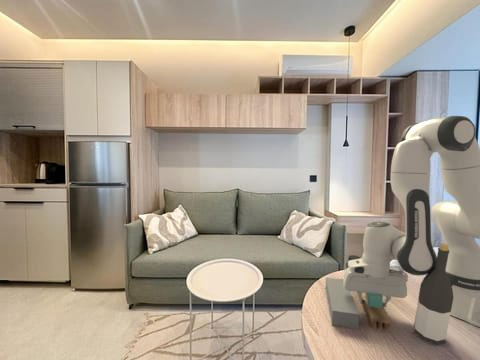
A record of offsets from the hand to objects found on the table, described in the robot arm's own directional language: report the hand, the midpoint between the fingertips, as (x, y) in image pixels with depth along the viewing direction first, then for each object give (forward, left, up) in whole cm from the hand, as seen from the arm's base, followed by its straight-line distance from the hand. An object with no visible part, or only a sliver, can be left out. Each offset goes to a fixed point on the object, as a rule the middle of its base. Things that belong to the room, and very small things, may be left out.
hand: (372, 304), depth 90 cm
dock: (+11, 0, -2) cm, 11 cm away
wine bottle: (-14, +10, -2) cm, 17 cm away
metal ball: (0, -3, +1) cm, 3 cm away
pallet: (0, 0, -3) cm, 3 cm away
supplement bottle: (+2, -20, -3) cm, 21 cm away
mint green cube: (0, +2, +1) cm, 2 cm away
